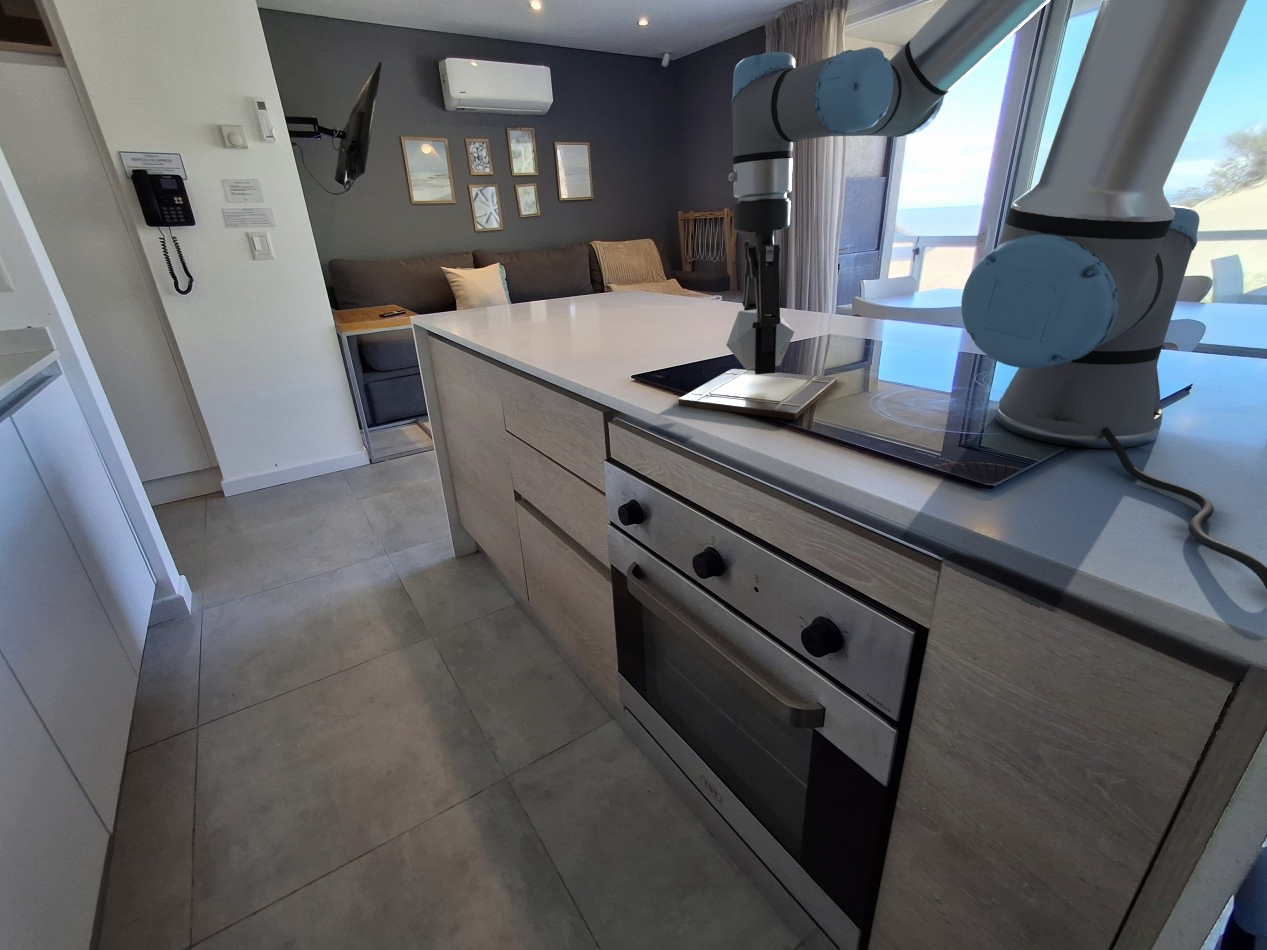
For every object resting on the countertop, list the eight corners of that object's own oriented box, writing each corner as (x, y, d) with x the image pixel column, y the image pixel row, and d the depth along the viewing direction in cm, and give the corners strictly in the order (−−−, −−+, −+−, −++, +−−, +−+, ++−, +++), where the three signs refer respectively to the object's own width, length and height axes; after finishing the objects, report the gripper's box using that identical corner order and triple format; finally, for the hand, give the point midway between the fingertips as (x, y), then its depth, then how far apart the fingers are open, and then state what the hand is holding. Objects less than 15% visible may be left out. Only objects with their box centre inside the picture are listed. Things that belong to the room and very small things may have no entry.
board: (837, 383, 89) (837, 376, 88) (794, 420, 76) (795, 411, 75) (731, 374, 99) (731, 367, 98) (678, 405, 85) (678, 397, 85)
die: (784, 379, 80) (812, 314, 80) (728, 352, 79) (756, 285, 79) (761, 385, 88) (786, 326, 89) (710, 361, 87) (736, 301, 87)
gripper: (724, 201, 86) (725, 349, 95) (744, 199, 66) (744, 386, 75) (774, 197, 86) (770, 345, 95) (810, 194, 65) (801, 383, 75)
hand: (759, 363), depth 85 cm, fingers closed on die, 10 cm apart
